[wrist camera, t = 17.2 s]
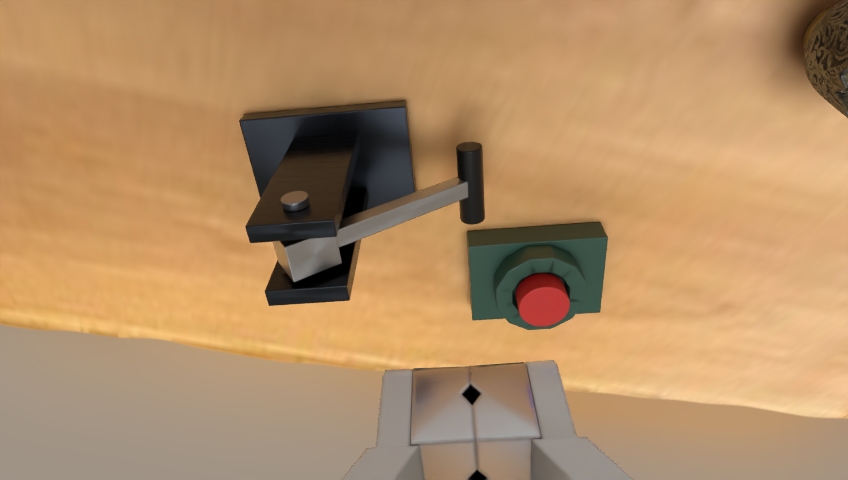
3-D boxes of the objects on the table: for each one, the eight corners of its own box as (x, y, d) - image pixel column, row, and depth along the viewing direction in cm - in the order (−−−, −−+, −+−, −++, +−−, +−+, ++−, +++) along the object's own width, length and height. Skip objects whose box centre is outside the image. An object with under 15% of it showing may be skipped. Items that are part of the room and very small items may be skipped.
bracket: (406, 100, 37) (397, 187, 26) (417, 205, 41) (414, 318, 30) (244, 113, 37) (169, 204, 27) (271, 216, 42) (216, 331, 31)
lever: (467, 137, 34) (492, 148, 33) (471, 207, 37) (493, 221, 35) (262, 205, 29) (278, 223, 27) (283, 282, 32) (299, 303, 30)
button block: (470, 303, 46) (474, 336, 43) (466, 231, 42) (470, 260, 39) (593, 295, 45) (606, 327, 42) (600, 221, 42) (615, 250, 38)
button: (515, 312, 42) (518, 328, 40) (515, 274, 40) (518, 288, 38) (563, 309, 42) (568, 325, 40) (566, 270, 40) (571, 285, 38)
